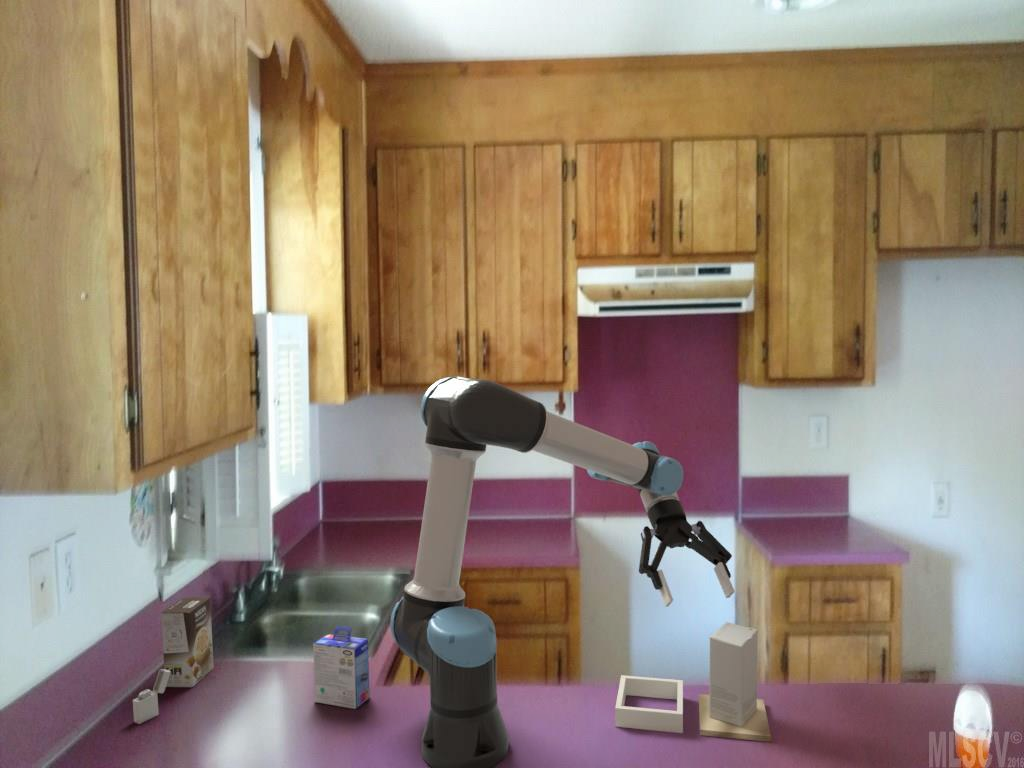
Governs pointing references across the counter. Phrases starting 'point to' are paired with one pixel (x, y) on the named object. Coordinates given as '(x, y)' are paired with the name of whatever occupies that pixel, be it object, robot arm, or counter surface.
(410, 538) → the counter surface
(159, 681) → the lighter
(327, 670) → the ink cartridge box
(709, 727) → the oak pad
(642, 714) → the holder collar
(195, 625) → the coffee box
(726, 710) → the skincare box
